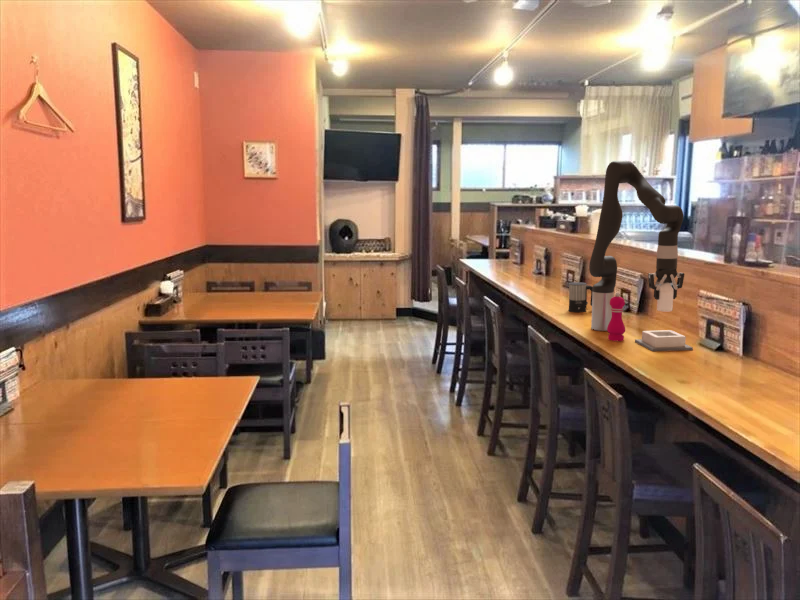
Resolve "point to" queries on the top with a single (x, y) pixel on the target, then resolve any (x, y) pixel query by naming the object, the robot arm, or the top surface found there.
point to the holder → (663, 341)
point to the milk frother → (578, 296)
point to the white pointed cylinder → (665, 298)
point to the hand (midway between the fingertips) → (664, 298)
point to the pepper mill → (616, 319)
